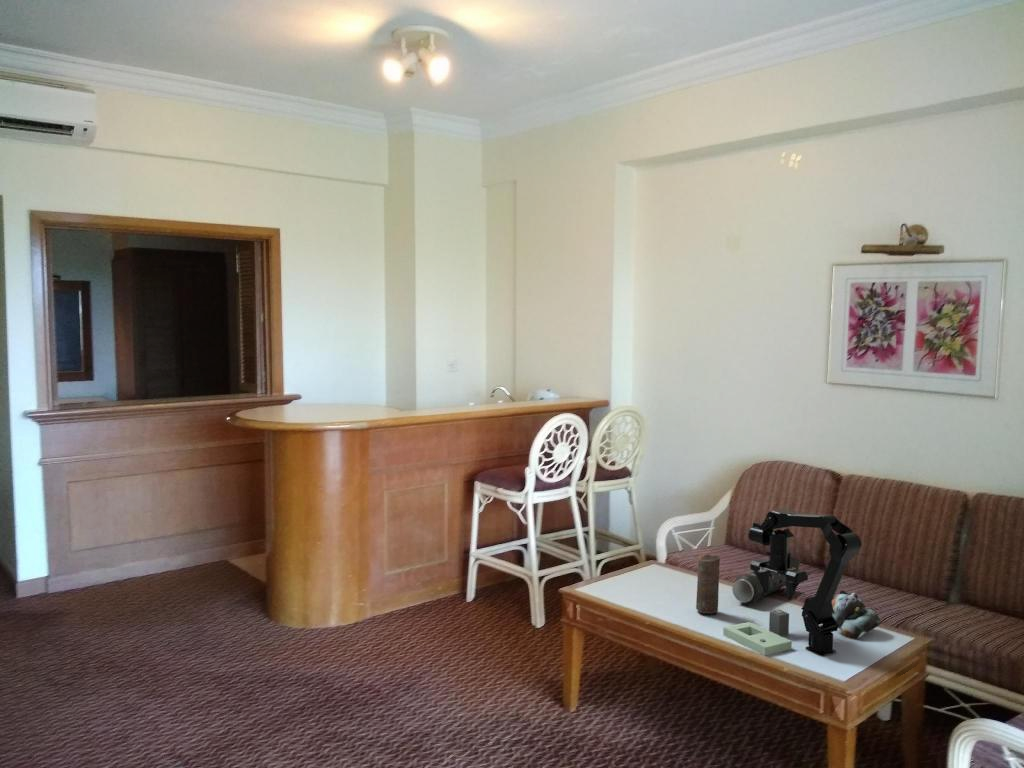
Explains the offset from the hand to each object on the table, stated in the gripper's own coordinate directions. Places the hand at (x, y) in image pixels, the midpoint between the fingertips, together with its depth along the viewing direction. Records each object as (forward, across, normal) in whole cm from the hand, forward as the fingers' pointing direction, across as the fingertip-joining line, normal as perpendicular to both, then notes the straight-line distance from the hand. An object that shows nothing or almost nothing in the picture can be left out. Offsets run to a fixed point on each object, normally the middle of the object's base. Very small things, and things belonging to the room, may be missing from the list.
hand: (778, 596), depth 258 cm
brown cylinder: (+11, +25, +6) cm, 28 cm away
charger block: (+12, -1, 0) cm, 12 cm away
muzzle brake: (+11, +27, -23) cm, 37 cm away
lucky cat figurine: (+12, -12, -22) cm, 28 cm away
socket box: (+12, -2, +12) cm, 17 cm away
